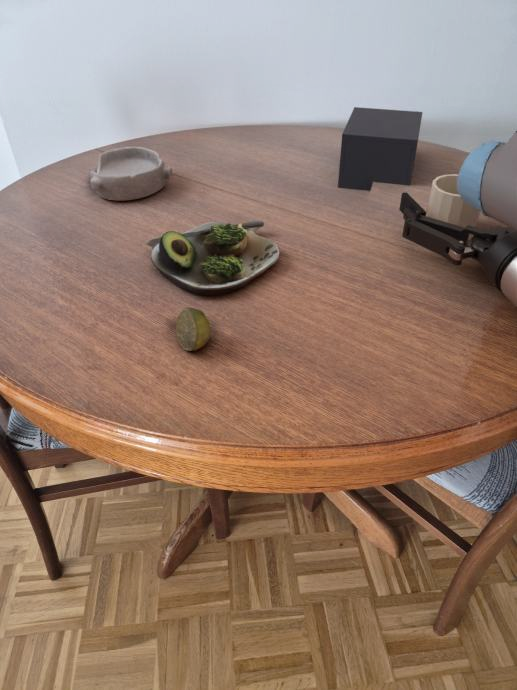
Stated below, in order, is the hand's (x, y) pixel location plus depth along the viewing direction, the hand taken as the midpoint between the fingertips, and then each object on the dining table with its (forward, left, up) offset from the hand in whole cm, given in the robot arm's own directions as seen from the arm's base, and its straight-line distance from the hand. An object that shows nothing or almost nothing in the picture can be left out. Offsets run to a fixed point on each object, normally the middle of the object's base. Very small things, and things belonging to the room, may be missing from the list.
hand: (444, 195), depth 82 cm
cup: (-1, +3, -6) cm, 7 cm away
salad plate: (+32, +18, -6) cm, 37 cm away
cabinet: (+12, -19, -6) cm, 23 cm away
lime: (+28, +36, -6) cm, 45 cm away
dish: (+55, -3, -6) cm, 55 cm away
